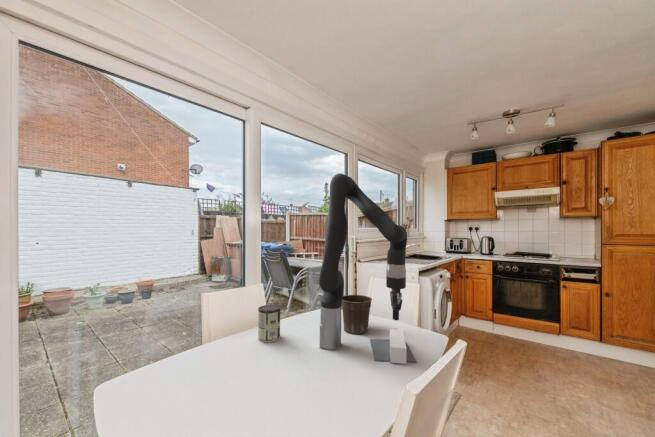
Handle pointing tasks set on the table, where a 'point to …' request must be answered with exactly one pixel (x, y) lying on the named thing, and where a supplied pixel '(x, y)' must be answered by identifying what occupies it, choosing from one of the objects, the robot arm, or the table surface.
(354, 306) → the plant pot
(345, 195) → the robot arm
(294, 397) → the table surface
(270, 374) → the table surface
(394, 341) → the milk
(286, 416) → the table surface
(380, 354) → the mat
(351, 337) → the table surface
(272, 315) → the coffee can
